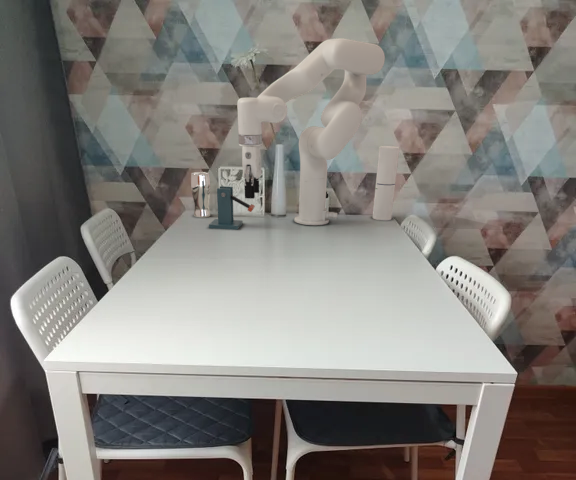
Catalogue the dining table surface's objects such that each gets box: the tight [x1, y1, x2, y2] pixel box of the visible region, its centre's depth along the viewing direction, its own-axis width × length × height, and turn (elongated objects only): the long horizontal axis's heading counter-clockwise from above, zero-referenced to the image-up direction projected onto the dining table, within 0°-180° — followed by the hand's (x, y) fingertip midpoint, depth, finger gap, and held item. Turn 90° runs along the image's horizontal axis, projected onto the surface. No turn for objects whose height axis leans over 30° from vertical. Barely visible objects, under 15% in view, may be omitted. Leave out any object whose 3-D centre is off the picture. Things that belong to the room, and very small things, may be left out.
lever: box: [230, 191, 255, 213], centre depth 187 cm, size 12×5×2 cm, turn 84°
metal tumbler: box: [190, 171, 211, 219], centre depth 201 cm, size 7×7×15 cm
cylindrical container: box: [372, 145, 400, 221], centre depth 203 cm, size 7×7×25 cm
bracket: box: [208, 185, 244, 231], centre depth 188 cm, size 10×9×13 cm
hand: (252, 195), depth 186 cm, fingers open, 9 cm apart
